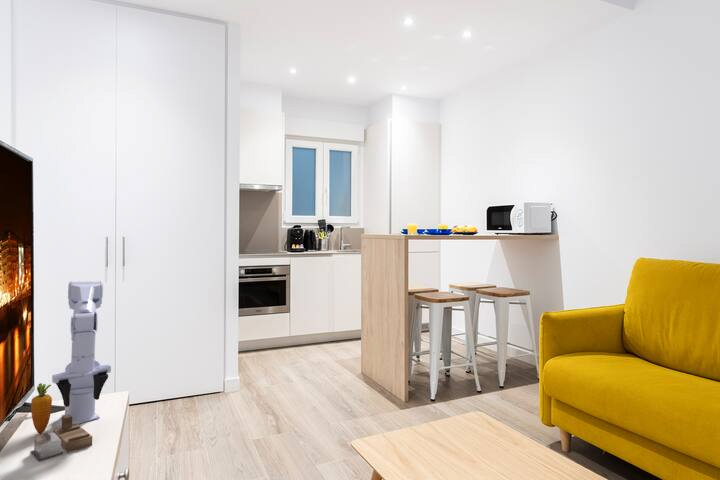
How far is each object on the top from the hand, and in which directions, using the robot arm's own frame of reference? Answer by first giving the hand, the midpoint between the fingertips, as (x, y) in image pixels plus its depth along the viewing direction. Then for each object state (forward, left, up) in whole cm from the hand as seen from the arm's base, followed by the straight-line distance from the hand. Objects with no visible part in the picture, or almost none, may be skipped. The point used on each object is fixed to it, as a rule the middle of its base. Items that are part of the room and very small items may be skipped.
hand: (81, 402), depth 128 cm
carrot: (-10, -7, -11) cm, 16 cm away
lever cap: (+3, -9, -10) cm, 14 cm away
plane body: (+1, -2, -10) cm, 11 cm away
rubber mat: (+3, -9, -10) cm, 14 cm away
